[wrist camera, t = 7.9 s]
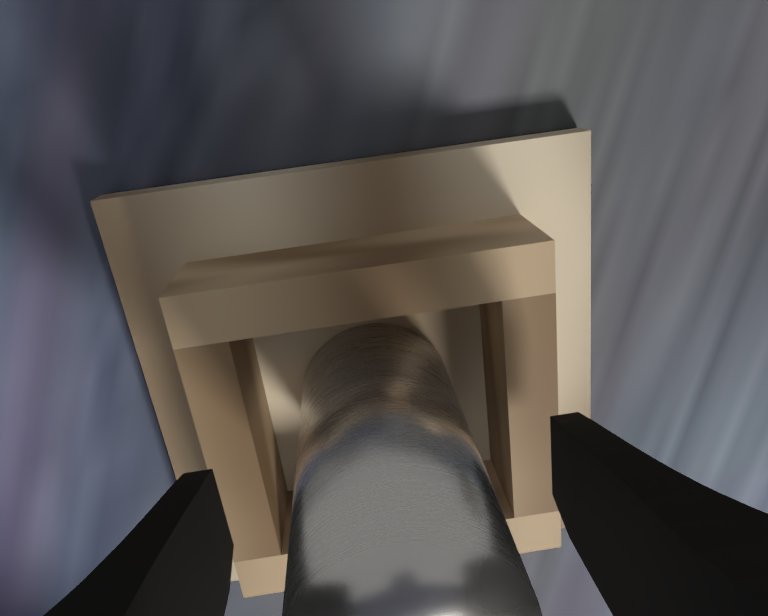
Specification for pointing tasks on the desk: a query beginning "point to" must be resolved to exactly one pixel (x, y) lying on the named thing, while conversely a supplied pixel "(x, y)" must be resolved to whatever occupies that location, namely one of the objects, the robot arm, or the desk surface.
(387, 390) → the spigot peg
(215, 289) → the dock socket
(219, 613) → the robot arm
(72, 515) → the desk surface
